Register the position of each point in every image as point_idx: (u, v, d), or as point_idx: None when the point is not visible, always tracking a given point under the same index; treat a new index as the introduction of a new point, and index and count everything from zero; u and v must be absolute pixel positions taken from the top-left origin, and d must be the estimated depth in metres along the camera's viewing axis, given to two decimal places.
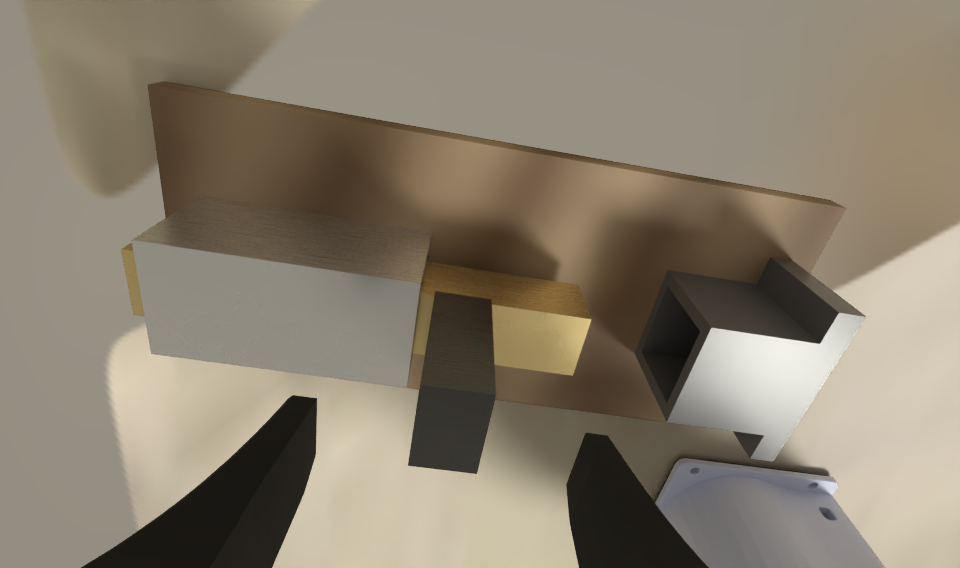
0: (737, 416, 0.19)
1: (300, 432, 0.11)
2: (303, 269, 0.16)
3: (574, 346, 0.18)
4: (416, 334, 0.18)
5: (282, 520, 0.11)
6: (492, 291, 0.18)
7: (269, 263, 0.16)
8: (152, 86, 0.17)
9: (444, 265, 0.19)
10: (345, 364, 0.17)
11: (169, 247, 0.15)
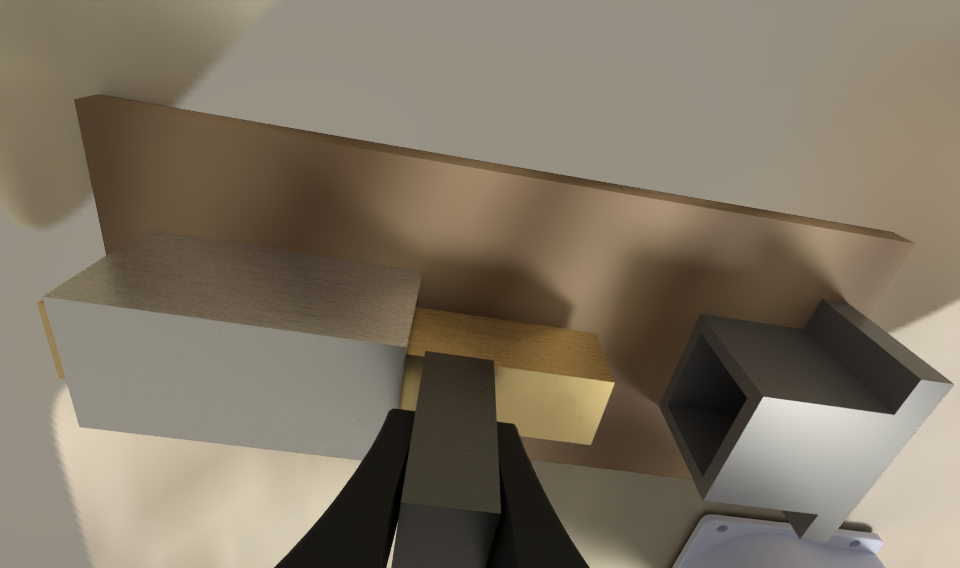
0: (788, 494, 0.16)
1: (409, 445, 0.11)
2: (260, 330, 0.13)
3: (593, 413, 0.15)
4: (403, 399, 0.15)
5: (392, 532, 0.11)
6: (494, 346, 0.15)
7: (217, 323, 0.13)
8: (80, 101, 0.14)
9: (437, 311, 0.16)
10: (316, 438, 0.14)
11: (90, 305, 0.12)
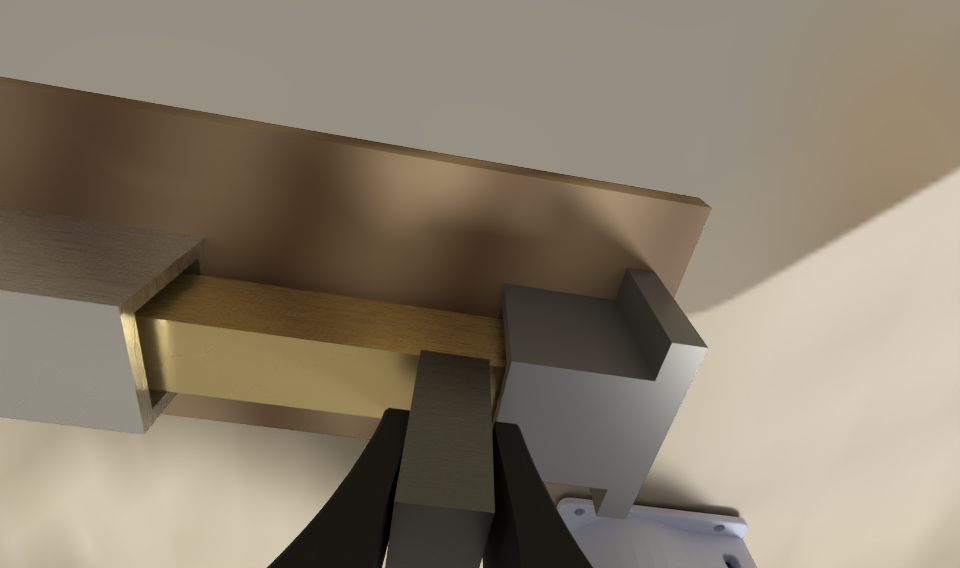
0: (569, 467, 0.15)
1: None
2: None
3: None
4: (399, 399, 0.15)
5: (388, 531, 0.11)
6: (490, 345, 0.15)
7: None
8: None
9: (433, 310, 0.16)
10: (57, 406, 0.14)
11: None
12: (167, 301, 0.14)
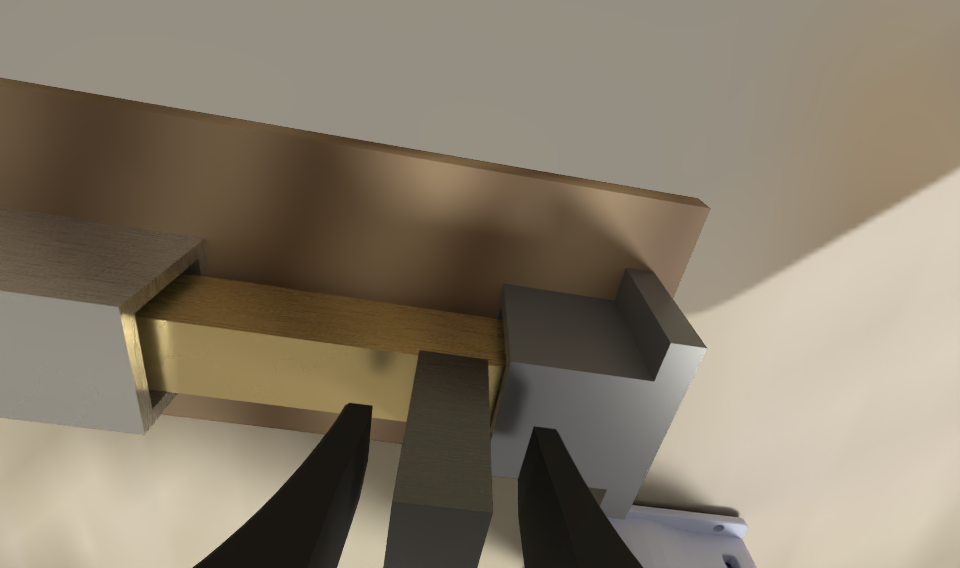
0: None
1: (362, 440, 0.11)
2: None
3: None
4: (397, 398, 0.15)
5: (344, 527, 0.11)
6: (489, 346, 0.15)
7: None
8: None
9: (432, 311, 0.16)
10: (57, 406, 0.14)
11: None
12: (166, 301, 0.14)
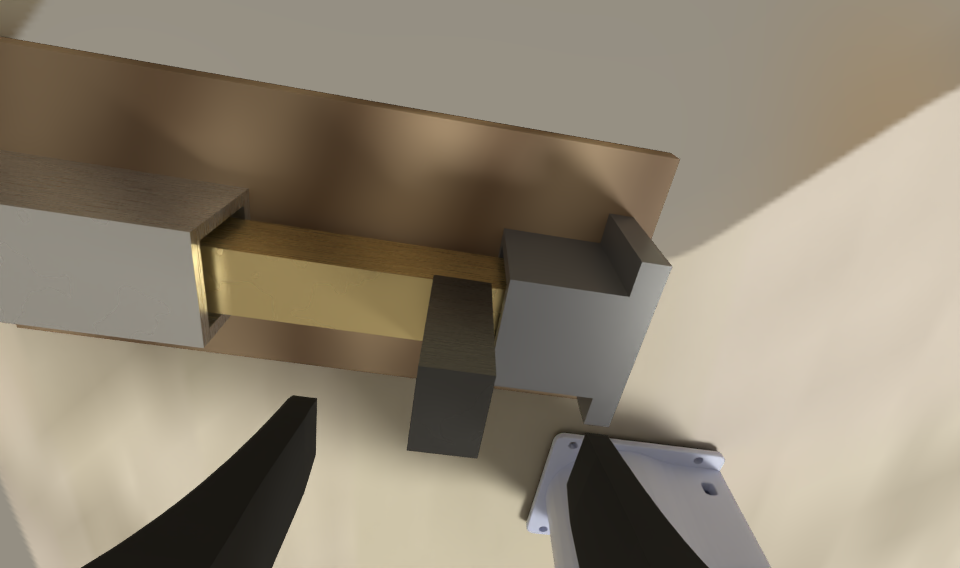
0: (560, 377, 0.18)
1: (300, 432, 0.11)
2: (61, 217, 0.15)
3: None
4: (415, 319, 0.18)
5: (282, 520, 0.11)
6: (492, 275, 0.18)
7: (24, 210, 0.15)
8: None
9: (443, 250, 0.19)
10: (132, 322, 0.17)
11: None
12: (221, 236, 0.17)
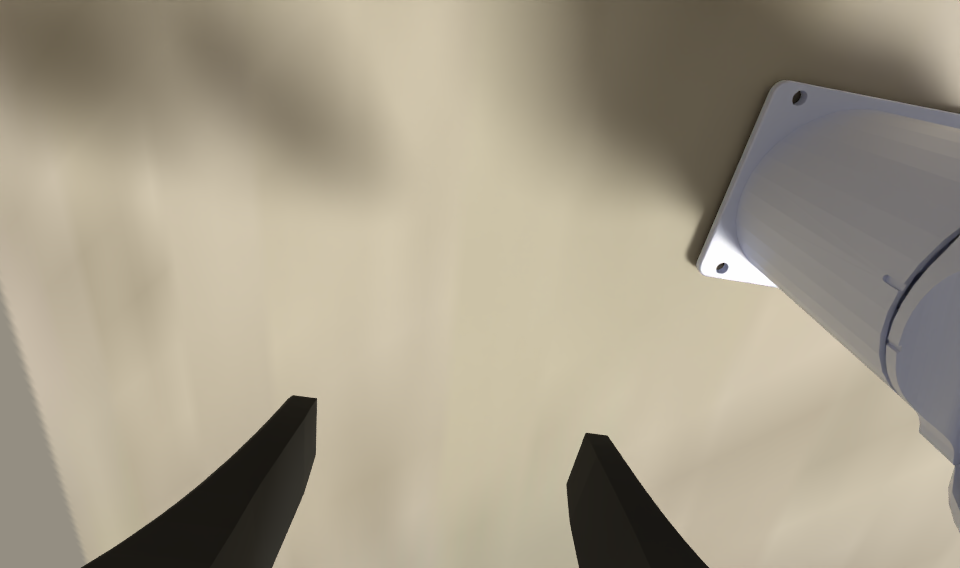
0: None
1: (300, 432, 0.11)
2: None
3: None
4: None
5: (282, 520, 0.11)
6: None
7: None
8: None
9: None
10: None
11: None
12: None
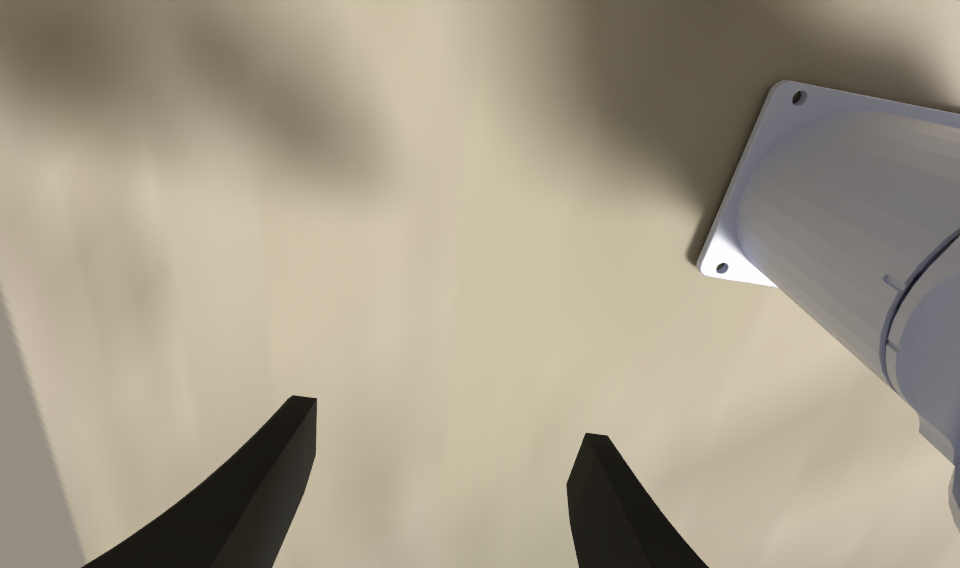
0: None
1: (300, 432, 0.11)
2: None
3: None
4: None
5: (282, 520, 0.11)
6: None
7: None
8: None
9: None
10: None
11: None
12: None
